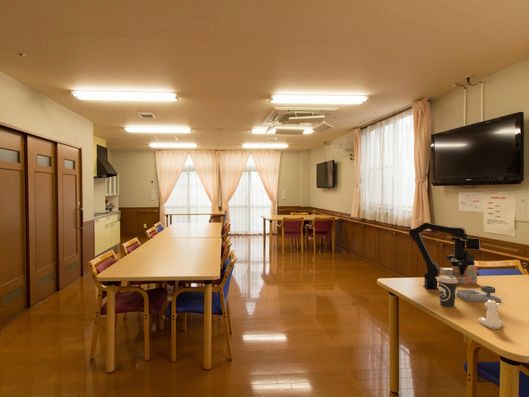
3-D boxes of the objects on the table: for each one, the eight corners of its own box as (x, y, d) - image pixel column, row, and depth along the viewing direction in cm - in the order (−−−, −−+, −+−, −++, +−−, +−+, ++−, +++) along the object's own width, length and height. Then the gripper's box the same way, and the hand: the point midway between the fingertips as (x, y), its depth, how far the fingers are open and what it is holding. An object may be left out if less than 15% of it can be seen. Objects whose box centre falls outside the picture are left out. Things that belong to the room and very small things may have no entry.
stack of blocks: (444, 283, 212) (444, 265, 212) (439, 281, 218) (439, 263, 218) (477, 283, 212) (477, 265, 212) (471, 281, 218) (471, 263, 218)
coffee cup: (457, 309, 164) (457, 280, 164) (436, 305, 169) (436, 277, 169) (457, 304, 172) (457, 276, 172) (437, 300, 177) (437, 273, 177)
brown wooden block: (457, 276, 190) (457, 267, 190) (452, 275, 194) (452, 266, 194) (467, 276, 190) (467, 267, 190) (462, 274, 195) (462, 265, 195)
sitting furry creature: (502, 324, 145) (502, 298, 145) (508, 332, 137) (508, 304, 137) (477, 321, 148) (478, 295, 148) (482, 328, 140) (482, 301, 140)
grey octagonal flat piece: (486, 293, 179) (486, 288, 179) (479, 290, 185) (479, 285, 185) (497, 293, 179) (497, 288, 179) (489, 290, 185) (489, 285, 185)
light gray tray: (468, 301, 176) (468, 292, 176) (456, 295, 187) (456, 286, 187) (500, 301, 176) (500, 292, 176) (486, 295, 187) (486, 286, 187)
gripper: (483, 250, 183) (483, 278, 183) (462, 245, 202) (462, 270, 202) (464, 251, 183) (464, 278, 183) (445, 246, 201) (445, 270, 201)
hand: (459, 274), depth 192 cm, fingers closed on brown wooden block, 4 cm apart
